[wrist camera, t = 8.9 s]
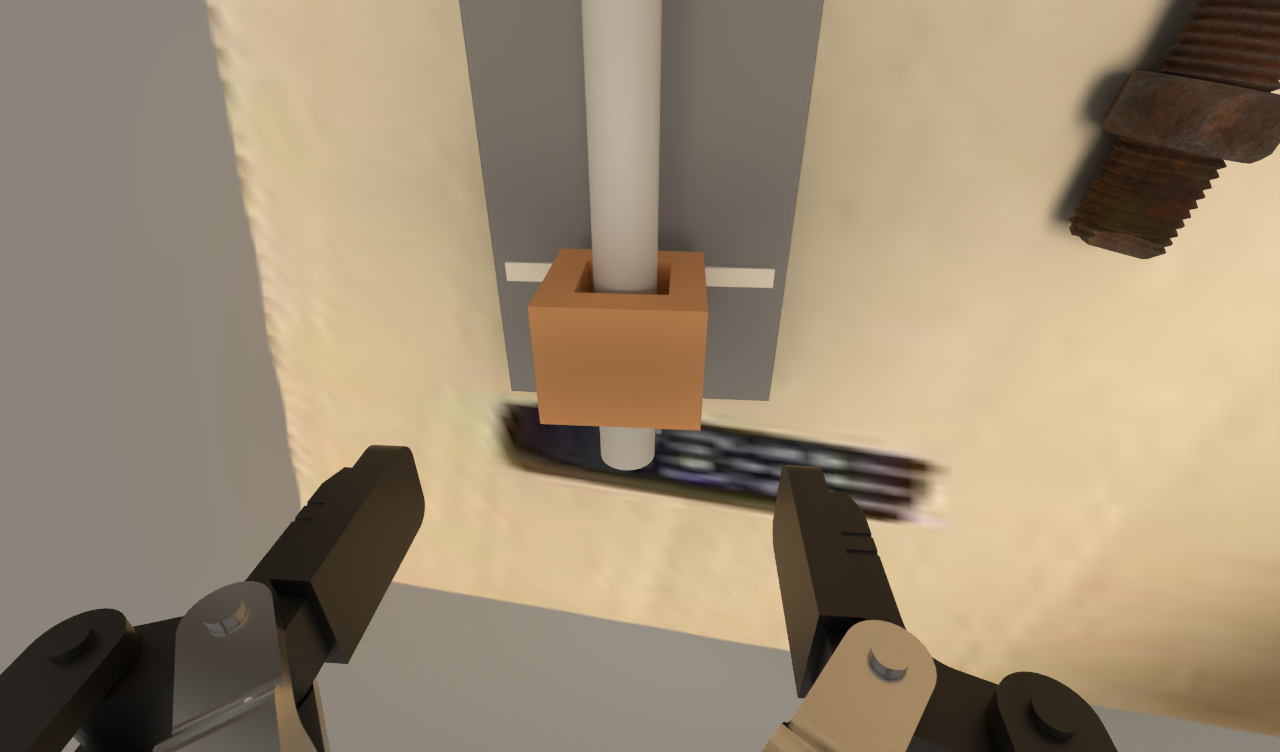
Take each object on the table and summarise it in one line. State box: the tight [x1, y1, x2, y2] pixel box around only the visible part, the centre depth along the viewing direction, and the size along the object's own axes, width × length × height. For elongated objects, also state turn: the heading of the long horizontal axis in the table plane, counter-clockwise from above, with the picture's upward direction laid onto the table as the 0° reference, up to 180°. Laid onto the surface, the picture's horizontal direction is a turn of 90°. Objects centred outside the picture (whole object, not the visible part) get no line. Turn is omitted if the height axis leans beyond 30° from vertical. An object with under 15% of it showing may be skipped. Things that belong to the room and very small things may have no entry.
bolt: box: [1069, 0, 1280, 259], centre depth 17 cm, size 6×5×15 cm
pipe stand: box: [459, 0, 824, 470], centre depth 19 cm, size 22×12×8 cm, turn 0°
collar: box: [528, 249, 708, 431], centre depth 19 cm, size 4×5×5 cm
